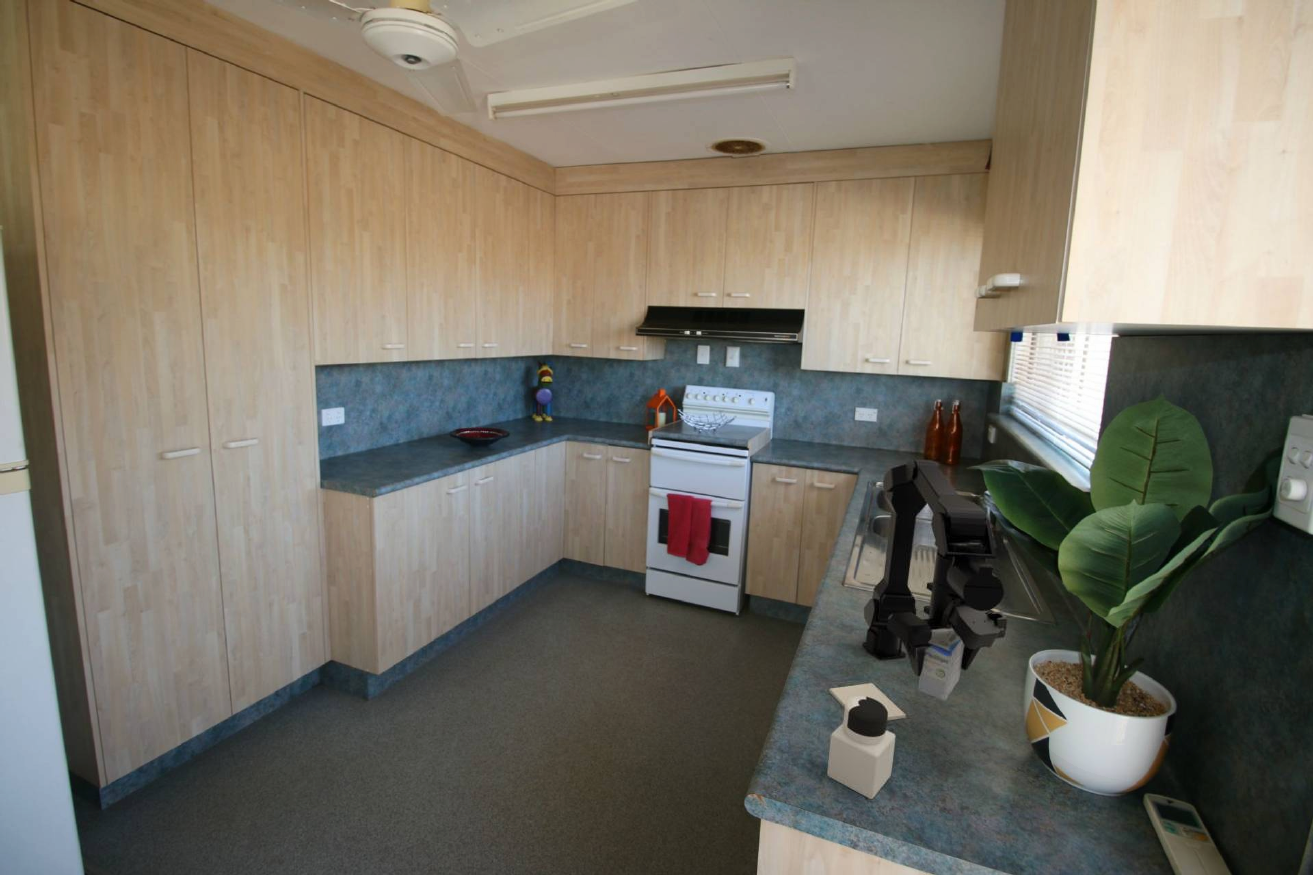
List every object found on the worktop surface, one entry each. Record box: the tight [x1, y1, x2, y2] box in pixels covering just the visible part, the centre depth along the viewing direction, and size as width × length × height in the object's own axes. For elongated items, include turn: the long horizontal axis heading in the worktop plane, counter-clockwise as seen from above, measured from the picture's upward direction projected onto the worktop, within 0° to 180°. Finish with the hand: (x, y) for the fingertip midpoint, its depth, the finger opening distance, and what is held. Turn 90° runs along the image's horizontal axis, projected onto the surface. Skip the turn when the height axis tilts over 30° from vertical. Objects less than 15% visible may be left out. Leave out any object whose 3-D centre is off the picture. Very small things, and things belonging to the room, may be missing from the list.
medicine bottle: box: [826, 696, 896, 800], centre depth 94 cm, size 7×7×12 cm
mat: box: [829, 682, 907, 722], centre depth 114 cm, size 9×10×1 cm
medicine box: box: [917, 629, 964, 701], centre depth 104 cm, size 8×4×9 cm, turn 141°
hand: (940, 672), depth 104 cm, fingers closed on medicine box, 9 cm apart
